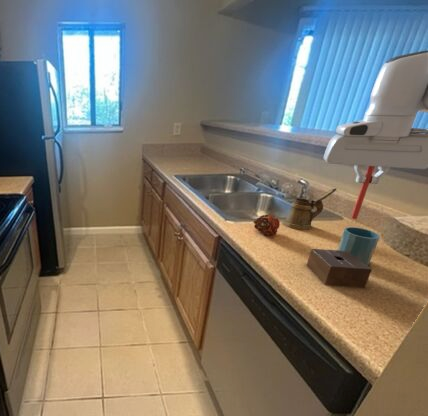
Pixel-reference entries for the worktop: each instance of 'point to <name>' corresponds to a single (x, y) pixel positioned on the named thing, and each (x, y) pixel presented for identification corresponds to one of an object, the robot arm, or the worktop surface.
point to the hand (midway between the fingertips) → (366, 182)
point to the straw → (362, 192)
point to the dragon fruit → (267, 224)
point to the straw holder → (338, 268)
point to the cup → (359, 243)
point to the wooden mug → (305, 212)
